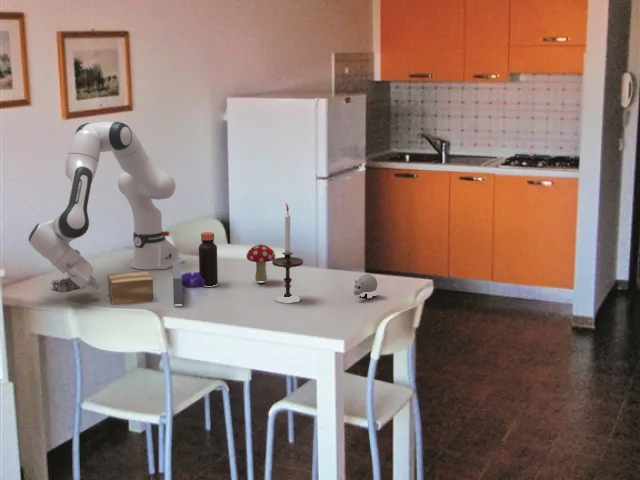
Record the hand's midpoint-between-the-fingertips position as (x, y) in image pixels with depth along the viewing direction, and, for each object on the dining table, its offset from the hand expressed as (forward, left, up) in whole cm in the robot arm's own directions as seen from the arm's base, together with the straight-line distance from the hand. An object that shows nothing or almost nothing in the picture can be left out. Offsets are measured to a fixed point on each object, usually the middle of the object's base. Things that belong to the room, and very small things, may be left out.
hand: (98, 287), depth 316 cm
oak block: (-8, +8, -5) cm, 12 cm away
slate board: (-20, +20, -4) cm, 28 cm away
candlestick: (-39, +54, -5) cm, 67 cm away
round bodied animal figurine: (-57, +75, -5) cm, 94 cm away
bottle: (-37, +18, -5) cm, 42 cm away
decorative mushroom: (-51, +32, -5) cm, 61 cm away
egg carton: (-3, -21, -5) cm, 22 cm away
